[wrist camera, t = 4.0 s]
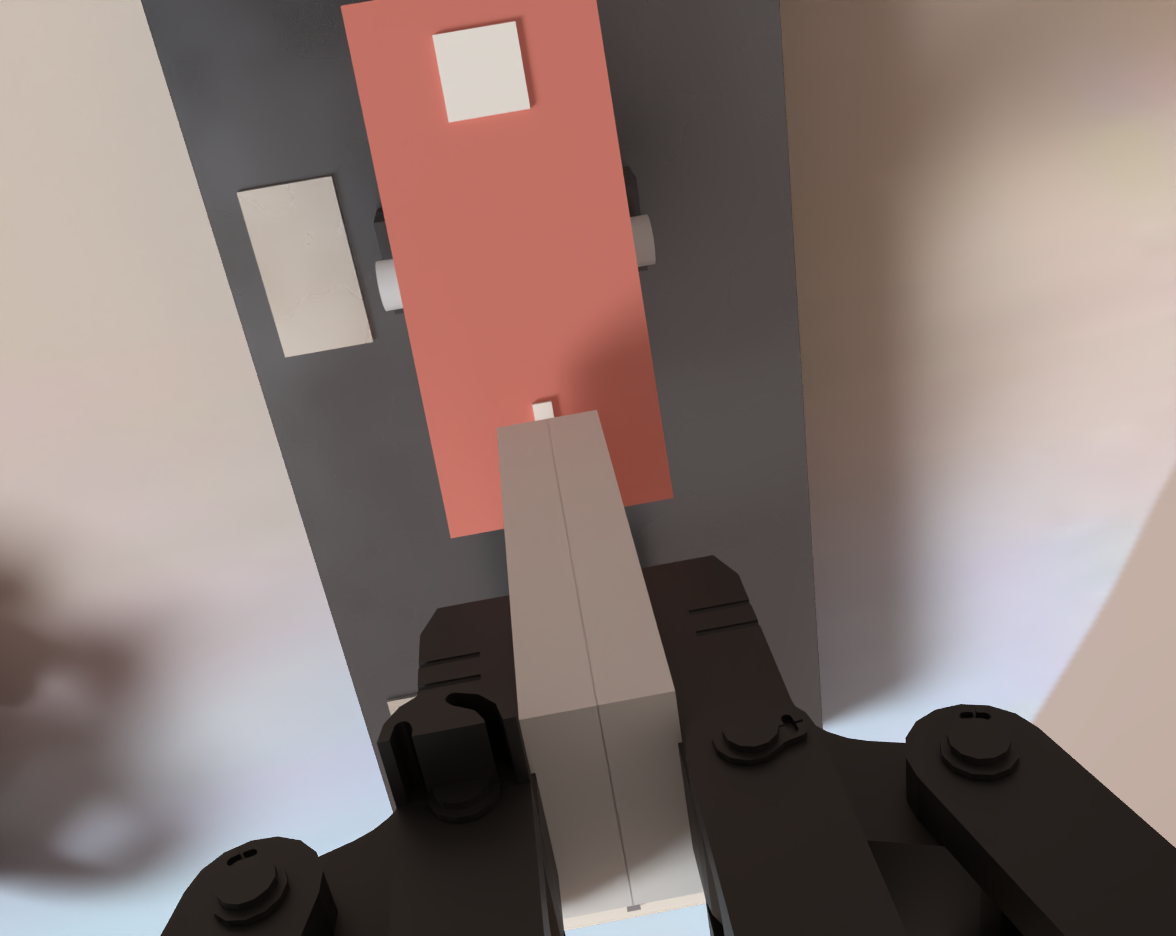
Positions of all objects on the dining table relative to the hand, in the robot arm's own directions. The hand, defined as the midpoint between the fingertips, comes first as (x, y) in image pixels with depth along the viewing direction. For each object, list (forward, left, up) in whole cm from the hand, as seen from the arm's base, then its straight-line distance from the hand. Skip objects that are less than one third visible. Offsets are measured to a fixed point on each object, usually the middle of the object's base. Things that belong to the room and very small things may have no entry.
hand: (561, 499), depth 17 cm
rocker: (-3, 0, -3) cm, 4 cm away
